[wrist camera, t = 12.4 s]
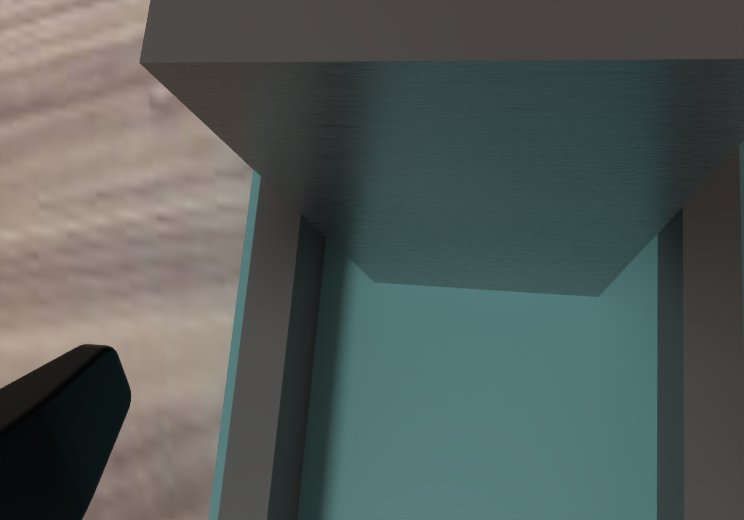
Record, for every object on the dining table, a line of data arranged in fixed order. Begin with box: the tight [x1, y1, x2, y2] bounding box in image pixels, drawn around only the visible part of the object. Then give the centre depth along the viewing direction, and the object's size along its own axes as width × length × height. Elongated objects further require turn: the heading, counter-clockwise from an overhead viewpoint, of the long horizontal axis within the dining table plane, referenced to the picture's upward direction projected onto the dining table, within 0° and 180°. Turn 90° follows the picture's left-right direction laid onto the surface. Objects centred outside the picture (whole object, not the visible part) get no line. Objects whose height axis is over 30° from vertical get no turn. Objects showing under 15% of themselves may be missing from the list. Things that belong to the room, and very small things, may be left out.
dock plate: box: [209, 142, 744, 520], centre depth 17 cm, size 18×14×5 cm
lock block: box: [140, 0, 744, 297], centre depth 12 cm, size 6×6×12 cm
